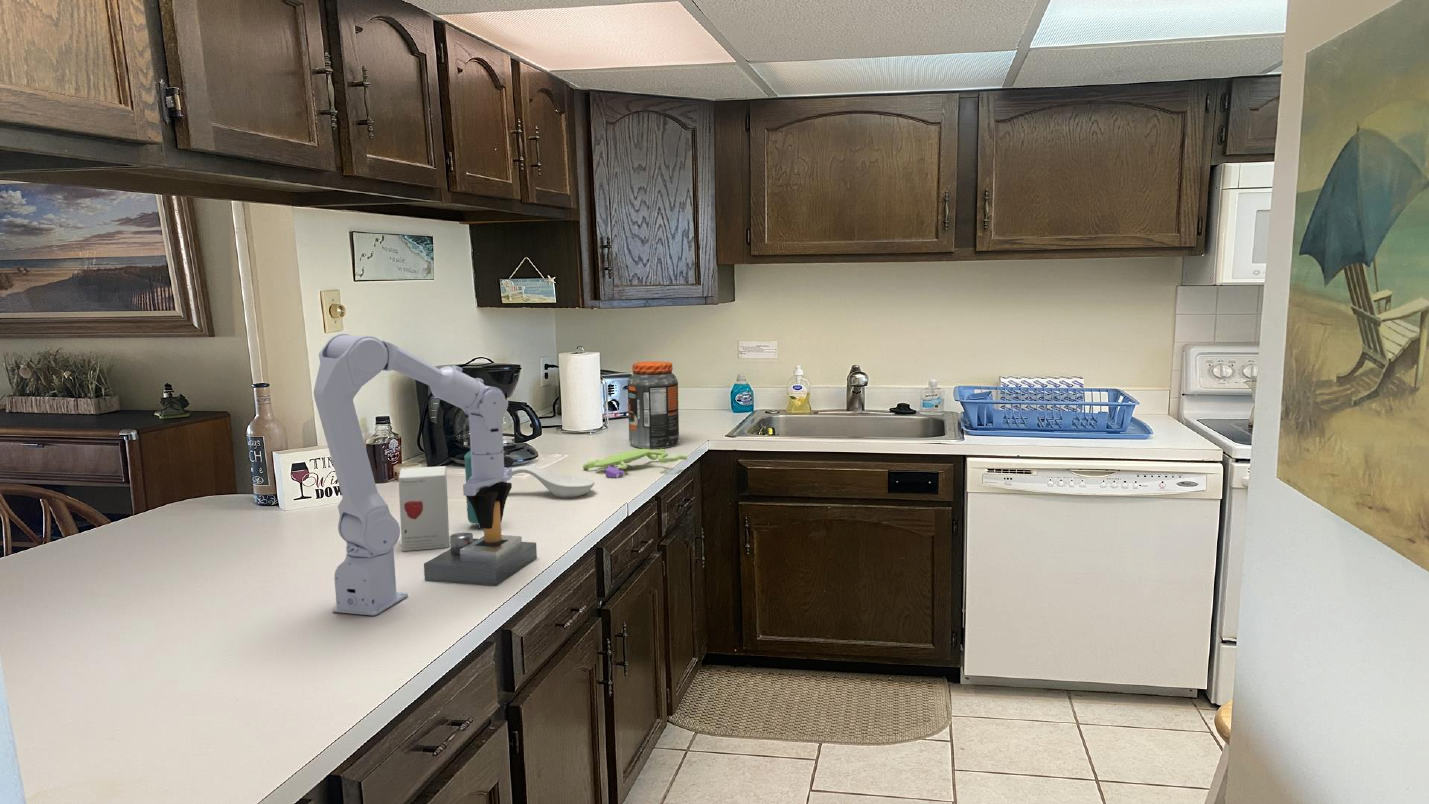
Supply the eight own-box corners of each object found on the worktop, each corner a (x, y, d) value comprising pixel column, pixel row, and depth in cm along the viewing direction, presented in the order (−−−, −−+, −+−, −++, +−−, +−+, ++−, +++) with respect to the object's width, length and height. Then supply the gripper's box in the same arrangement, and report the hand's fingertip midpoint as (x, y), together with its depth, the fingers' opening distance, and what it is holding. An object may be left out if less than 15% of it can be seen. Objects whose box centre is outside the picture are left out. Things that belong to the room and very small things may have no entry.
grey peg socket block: (496, 585, 158) (495, 552, 157) (424, 580, 161) (422, 547, 160) (536, 557, 173) (535, 527, 172) (470, 553, 176) (468, 523, 176)
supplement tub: (631, 440, 295) (629, 360, 291) (680, 440, 295) (678, 360, 291) (626, 450, 279) (624, 365, 275) (677, 449, 279) (676, 365, 275)
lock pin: (495, 542, 164) (493, 505, 163) (481, 541, 165) (479, 503, 164) (504, 538, 167) (502, 501, 166) (490, 537, 168) (488, 499, 167)
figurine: (691, 474, 246) (690, 453, 245) (593, 482, 238) (592, 461, 237) (671, 461, 263) (671, 442, 263) (580, 468, 255) (579, 449, 254)
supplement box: (401, 552, 178) (396, 477, 176) (403, 539, 186) (399, 467, 184) (449, 548, 180) (445, 473, 178) (450, 535, 189) (446, 464, 187)
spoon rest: (598, 490, 229) (597, 462, 228) (590, 501, 217) (590, 472, 216) (504, 490, 229) (502, 462, 228) (492, 502, 217) (490, 472, 216)
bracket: (496, 563, 161) (495, 552, 160) (460, 560, 162) (460, 549, 162) (521, 546, 170) (521, 536, 170) (487, 544, 172) (487, 534, 172)
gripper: (487, 460, 156) (491, 537, 158) (525, 445, 170) (528, 516, 171) (450, 459, 157) (454, 535, 159) (491, 443, 171) (494, 514, 173)
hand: (490, 525), depth 165 cm, fingers closed on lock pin, 3 cm apart
